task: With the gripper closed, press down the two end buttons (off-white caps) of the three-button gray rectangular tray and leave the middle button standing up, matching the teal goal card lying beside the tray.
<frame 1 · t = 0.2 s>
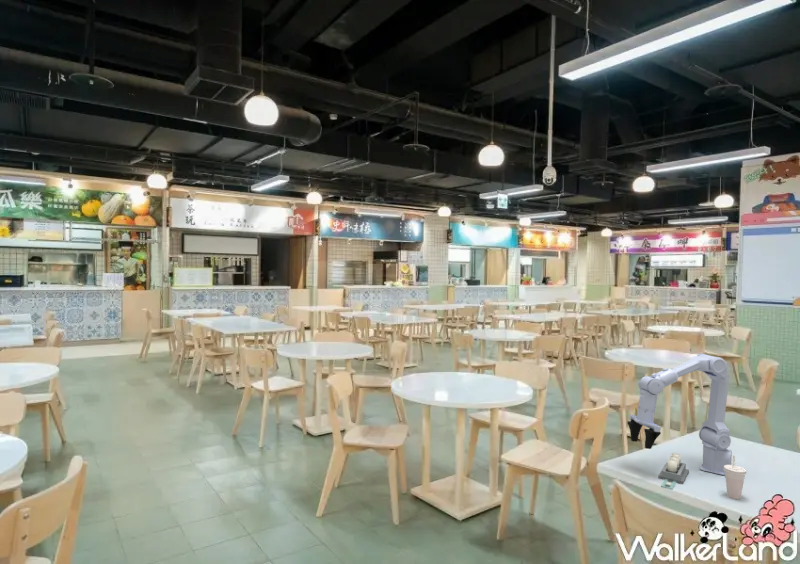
hand: (640, 444, 188), 10 cm above the table, tool pointing down, fingers open, 7 cm apart
smoothie: (733, 497, 168), on the table
goal card: (668, 484, 177), on the table
button mid: (674, 463, 185), point 5 cm above the table, slide at 0.0 cm
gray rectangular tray: (673, 475, 185), on the table
button 2: (676, 459, 189), point 5 cm above the table, slide at 0.0 cm
button 1: (672, 466, 182), point 4 cm above the table, slide at 0.0 cm
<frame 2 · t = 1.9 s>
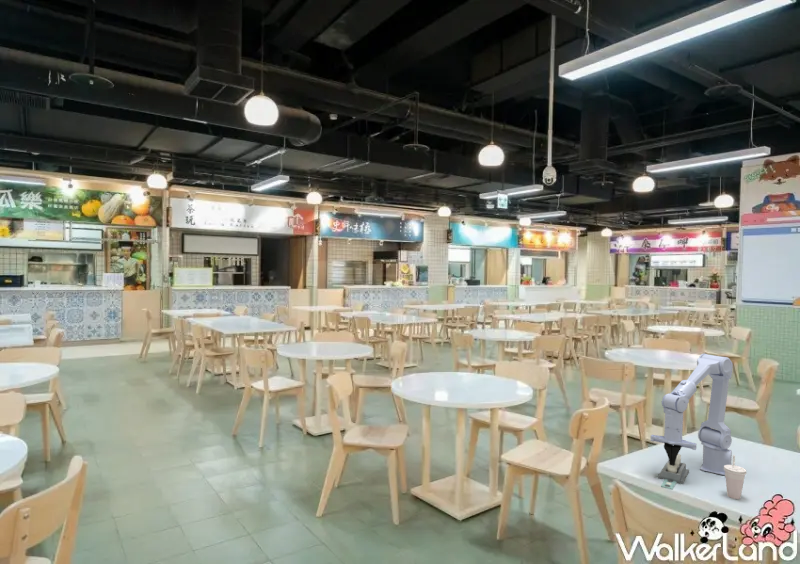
hand: (672, 464, 182), 5 cm above the table, tool pointing down, fingers closed, pressing on button 1
button 1: (672, 469, 182), point 3 cm above the table, slide at 1.2 cm, touching gripper
everything else where it was.
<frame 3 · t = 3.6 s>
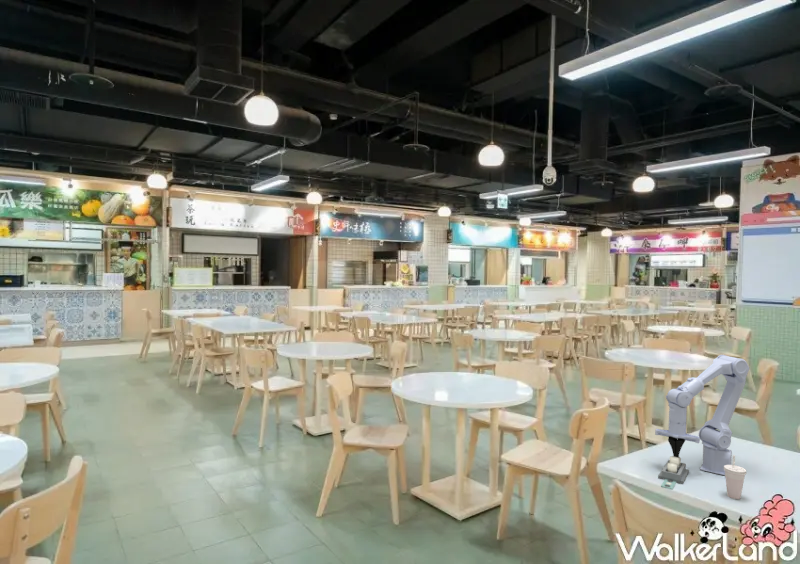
hand: (676, 457, 189), 5 cm above the table, tool pointing down, fingers closed, pressing on button 2
button 2: (676, 462, 189), point 3 cm above the table, slide at 1.1 cm, touching gripper
button 1: (672, 470, 182), point 3 cm above the table, slide at 1.2 cm
everything else where it was.
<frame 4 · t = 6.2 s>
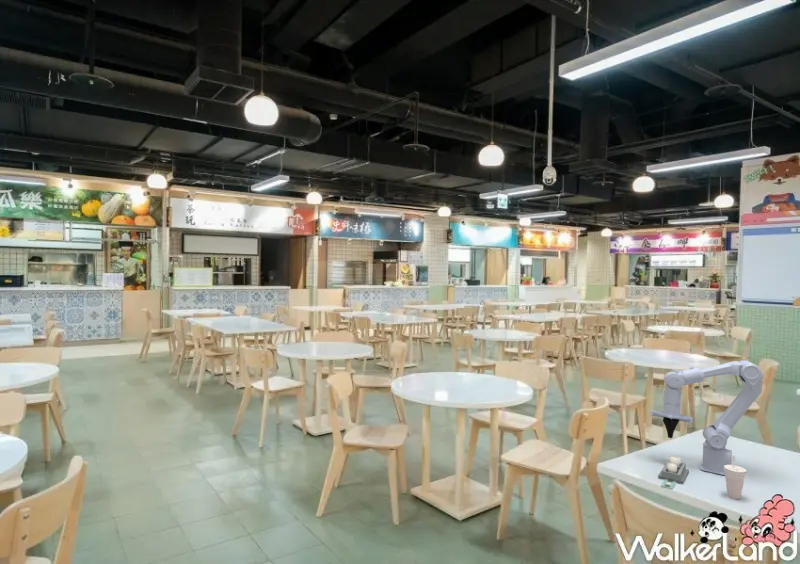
hand: (670, 437, 197), 10 cm above the table, tool pointing down, fingers closed
button 2: (676, 462, 189), point 3 cm above the table, slide at 1.2 cm
everything else where it was.
at the end: button 1 slide at 1.2 cm; button 2 slide at 1.2 cm; button mid slide at 0.0 cm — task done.
